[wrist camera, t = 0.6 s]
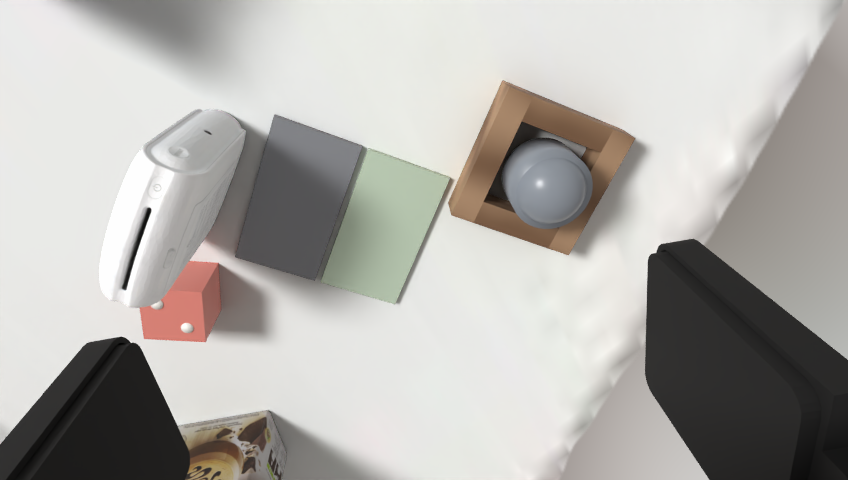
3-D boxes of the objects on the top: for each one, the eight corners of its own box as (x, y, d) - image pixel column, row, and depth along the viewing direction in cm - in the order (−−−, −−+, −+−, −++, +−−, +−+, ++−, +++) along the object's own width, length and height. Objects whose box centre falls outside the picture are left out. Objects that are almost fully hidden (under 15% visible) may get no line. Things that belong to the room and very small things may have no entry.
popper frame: (502, 80, 38) (509, 86, 36) (622, 129, 40) (635, 138, 38) (448, 202, 42) (451, 215, 40) (559, 241, 44) (568, 255, 42)
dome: (521, 125, 38) (540, 147, 33) (589, 152, 39) (617, 176, 35) (488, 194, 40) (502, 224, 36) (553, 218, 41) (575, 249, 37)
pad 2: (368, 148, 40) (368, 149, 39) (449, 176, 41) (449, 178, 41) (321, 279, 44) (320, 282, 44) (394, 301, 46) (395, 304, 45)
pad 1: (274, 114, 38) (274, 115, 38) (362, 145, 39) (361, 147, 39) (236, 254, 43) (235, 257, 42) (315, 278, 44) (314, 280, 44)
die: (160, 258, 43) (136, 288, 39) (218, 262, 43) (201, 292, 39) (165, 305, 45) (143, 339, 41) (221, 309, 45) (205, 342, 41)
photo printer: (196, 95, 37) (116, 148, 26) (255, 123, 38) (203, 184, 27) (155, 217, 41) (70, 308, 30) (210, 239, 42) (148, 334, 31)
